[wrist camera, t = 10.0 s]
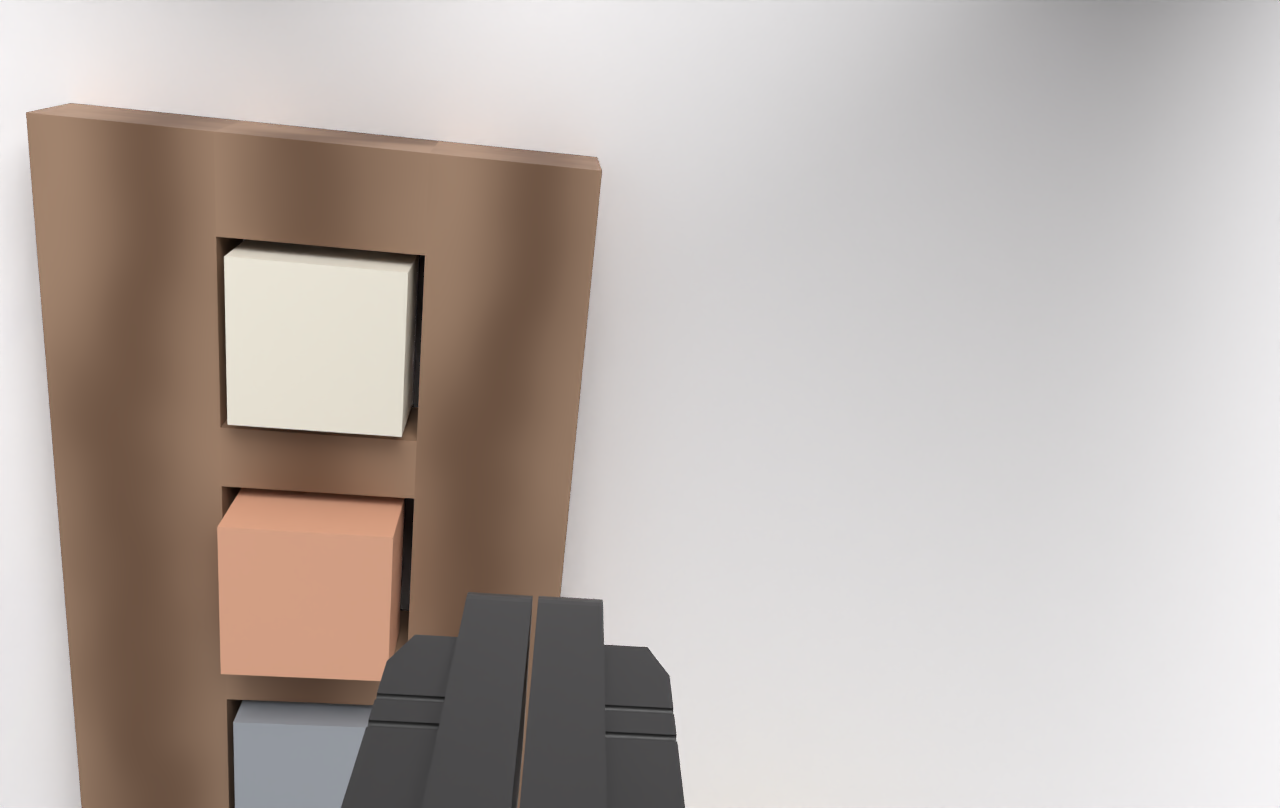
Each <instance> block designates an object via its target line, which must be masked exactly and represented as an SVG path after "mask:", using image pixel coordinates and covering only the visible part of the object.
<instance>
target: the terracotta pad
mask: <svg viewBox="0 0 1280 808" xmlns="http://www.w3.org/2000/svg"><path fill="white" fill-rule="evenodd" d="M404 506H405V498H397V497H382V496H366V495H350V494H335V493H319V492H304V491H288V490H272V489H257V488H241V490H240V491H239V493H238V495H237V496H236V498H235V499H234V501H233V503H232V504H231V506H230V507H229V509H228V511H227V512H226V514H225V515H224V517H223V519H222V520H221V522H220V523H219V525H218V527H217V541H218V581H219V622H220V663H221V674H231V675H253V676H276V677H298V678H321V679H344V680H366V681H381V678H382V675H383V672H384V668H385V665H386V662H387V660H388V659H389V658H391V657H392V656H393V655H394V652H395V648H396V643H397V639H398V635H399V628H400V603H401V579H402V555H403V530H404Z"/></svg>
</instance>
